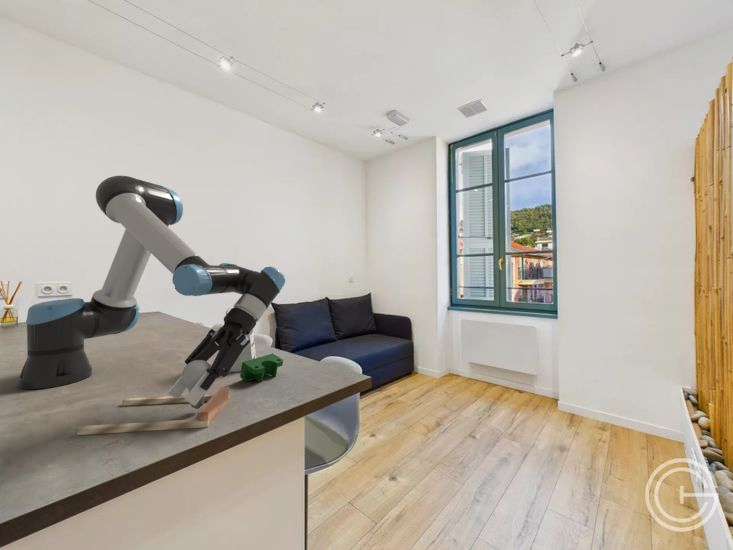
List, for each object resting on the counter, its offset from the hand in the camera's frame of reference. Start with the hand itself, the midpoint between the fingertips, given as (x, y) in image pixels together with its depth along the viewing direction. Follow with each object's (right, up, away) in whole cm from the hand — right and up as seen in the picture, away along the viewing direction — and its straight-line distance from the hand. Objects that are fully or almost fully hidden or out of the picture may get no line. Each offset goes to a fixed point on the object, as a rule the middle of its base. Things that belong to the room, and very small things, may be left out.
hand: (181, 399), depth 66 cm
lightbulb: (+2, -4, +3) cm, 5 cm away
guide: (-5, -4, +2) cm, 7 cm away
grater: (-3, -4, +37) cm, 37 cm away
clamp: (+9, -4, +26) cm, 28 cm away
